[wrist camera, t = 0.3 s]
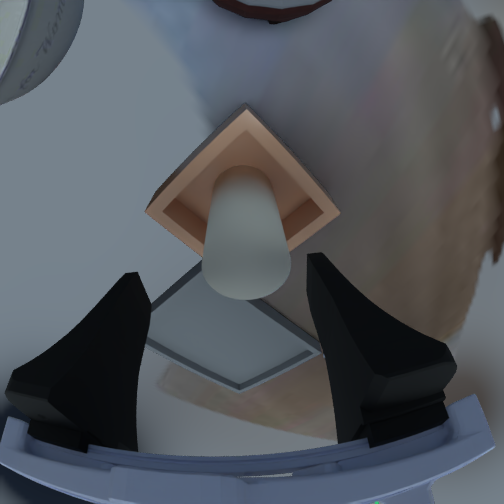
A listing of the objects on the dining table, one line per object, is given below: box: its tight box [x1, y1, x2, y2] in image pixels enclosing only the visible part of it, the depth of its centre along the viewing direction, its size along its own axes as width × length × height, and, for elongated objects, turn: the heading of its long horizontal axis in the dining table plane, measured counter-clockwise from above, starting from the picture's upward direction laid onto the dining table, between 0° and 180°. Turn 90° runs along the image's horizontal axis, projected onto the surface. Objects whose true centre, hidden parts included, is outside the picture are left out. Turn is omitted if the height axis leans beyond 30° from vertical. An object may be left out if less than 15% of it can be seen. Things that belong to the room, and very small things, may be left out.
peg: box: [202, 165, 291, 300], centre depth 17 cm, size 4×4×8 cm
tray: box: [145, 260, 322, 394], centre depth 28 cm, size 16×12×2 cm
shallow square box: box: [145, 103, 341, 258], centre depth 19 cm, size 9×9×3 cm
